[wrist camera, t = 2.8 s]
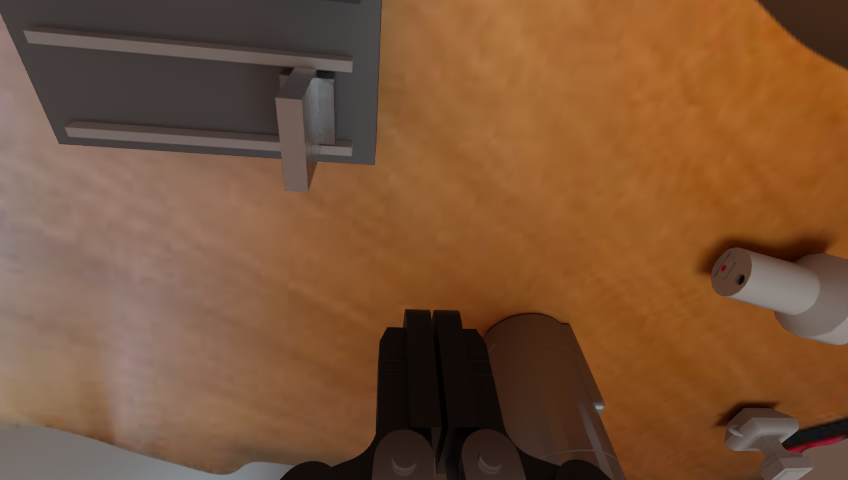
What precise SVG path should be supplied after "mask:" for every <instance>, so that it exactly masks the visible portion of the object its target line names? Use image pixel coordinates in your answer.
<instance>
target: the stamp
mask: <svg viewBox="0 0 848 480" xmlns="http://www.w3.org/2000/svg"><path fill="white" fill-rule="evenodd" d="M798 428H799V425H798V422H797V420H796V418H794V417H791V416H789V415H787V414H784V413H781V412H779V411H776V410H774V409H772V408H743V409H742V410H741V411H740V412H739V413H738V414H737V415H736V416H735V417H734V418H733V419H732V420H731V421H730V422H729V423H728V424H727V429H726V434H725V442H724V443H725V444H726V445H727V446H728V447H729V448H731V449H732V450H735V451H762V452H763V454H764V456H765V460H764V461H763V462H762V463H761V464H760V468H761V469H762V472H761V473H760V474H761V475H762V477H763V478H764V480H798V479H799V478H801V477H802V476H803V475H805V474H806V473H808V472H809V471H810V470H811V469H813V468H814V467H813V465H812V463H811V462H810V460H809V459H808V457H807V456H806V457H803V455H802V454H801V453H798V452H788V451H787V450H785V449H784V448H783V446H782V445H781V443H782V442H783V441H785V440H786V439H787V438H789V437H790V436H791V435H792V434H794V433H795V432H796V431H797V430H798Z"/></svg>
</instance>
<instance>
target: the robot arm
mask: <svg viewBox="0 0 848 480" xmlns="http://www.w3.org/2000/svg"><path fill="white" fill-rule="evenodd" d="M604 408H605V403H604V400H603V398H602V396H601V393H600V391H599V389H598V387H597V384H596V382H595V380H594V378H593V375H592V373H591V371H590V368H589V366H588V364H587V362H586V359H585V357H584V355H583V352H582V350H581V348H580V346H579V343H578V341H577V339H576V337H575V334H574V332H573V330H572V327H571V325H564V324H560V323H559V322H557V321H556V320H555V319H553V318H551V317H548V316H544V315H539V314H526V315H519V316H515V317H511V318H509V319H506V320H504V321H502V322H500V323H499V324H497V325H495V326H494V327H493V328H492V329H491V330H489V332H488V333H487V334H486V335H485V337H484V339H483V338H482V337H481V336H480V334H479V333H478V331H477V330H476V329H463V328H462V323H461V317H460V313H459V311H453V310H434V311H433V316H432V321H431V312H430V310H414V309H405V314H404V323H403V328H399V327H387V329H386V331H385V332H384V334H383V336H382V338H381V340H380V344H379V359H378V376H377V408H376V435H375V437H374V440H373V441H372V443H371V445H370V446H369V447H368V448H367V449H366V450H365V451H364V452H363V453H362V454H361V455H359V456H357V457H356V458H354V459H351V460H349V461H346V462H343V463H341V464H338V465H335V466H333V467H330V466H329V465H327V464H325V463H322V462H318V461H309V462H304V463H301V464H299V465H297V466H295V467H293V468H292V469H290V470H289V471H288V472H287V473H286V474H285V475H284V476H283V477H282V478H281V479H280V480H434V479H435V475H434V457H435V465H436V474H446V476H447V480H626V477H625V475H624V473H623V470H622V468H621V465H620V464H619V461H618V459H617V456H616V454H615V451H614V449H613V447H612V444H611V442H610V439H609V437H608V435H607V432H606V430H605V427H604V425H603V423H602V420H601V418H600V415H601V413H602V412H603V410H604Z"/></svg>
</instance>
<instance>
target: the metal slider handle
mask: <svg viewBox="0 0 848 480" xmlns="http://www.w3.org/2000/svg"><path fill="white" fill-rule="evenodd" d="M279 78H280V88H281V89H280V91H279V93H278V94H277V96H276V97H275V100H276V110H277V119H278V128H279V137H280V147H281V156H282V165H283V175H284V184H285V191H298V192H308V191H309V188H310V185H311V181H312V178H313V175H314V171H315V168H316V165H317V162H318V158H319V155H320V152H321V148H320V144H330V145H335V143H336V139H337V116H336V74H335V73H324V72H317V69H309V68H298V67H295V68H294V69H293V70H291V69H283V70H282V72H281V73H280V75H279Z"/></svg>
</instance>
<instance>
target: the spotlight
mask: <svg viewBox="0 0 848 480" xmlns="http://www.w3.org/2000/svg"><path fill="white" fill-rule="evenodd" d="M711 282H712V287H713V288H714V290H715V291H716V293H718V294H719V295H721V296H724V297H727V298H731V299H734V300H738V301H741V302H745V303H748V304H752V305H756V306H759V307H763V308H766V309H770V310H773V311H774V314H775V317H776V319H777V320H778V321H779V323H780V324H781V325H782V327H783V328H784V329H786V330H788V331H789V332H791V333H793V334H795V335H797V336H800V337H803V338H807V339H810V340H814V341H818V342H821V343H826V344H837V345H843V344H847V343H848V260H847V259H843V258H840V257H836V256H833V255H829V254H826V253H818V254H809V255H806V256H804V257H802V258H800V259H798V260H796V261H794V262H788V261H785V260H781V259H778V258H774V257H771V256H767V255H764V254H760V253H757V252H753V251H750V250H746V249H743V248H739V247H736V248H730V249H728V250H727V251H725V252H724V253H723V254H722V255H721V257H720V258H719V259H718V260H717V261H716V262H715V264H714V266H713V268H712V274H711Z"/></svg>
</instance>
